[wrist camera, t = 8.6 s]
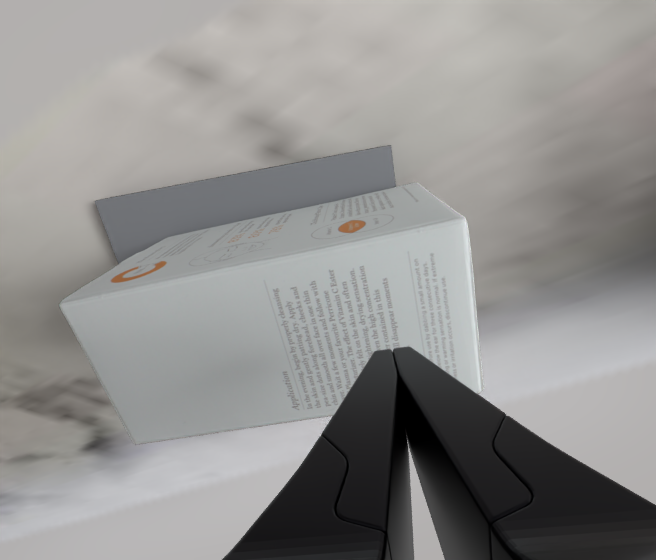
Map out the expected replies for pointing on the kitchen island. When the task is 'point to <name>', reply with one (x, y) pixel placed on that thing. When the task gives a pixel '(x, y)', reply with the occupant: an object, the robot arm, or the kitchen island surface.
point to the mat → (240, 197)
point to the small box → (278, 313)
